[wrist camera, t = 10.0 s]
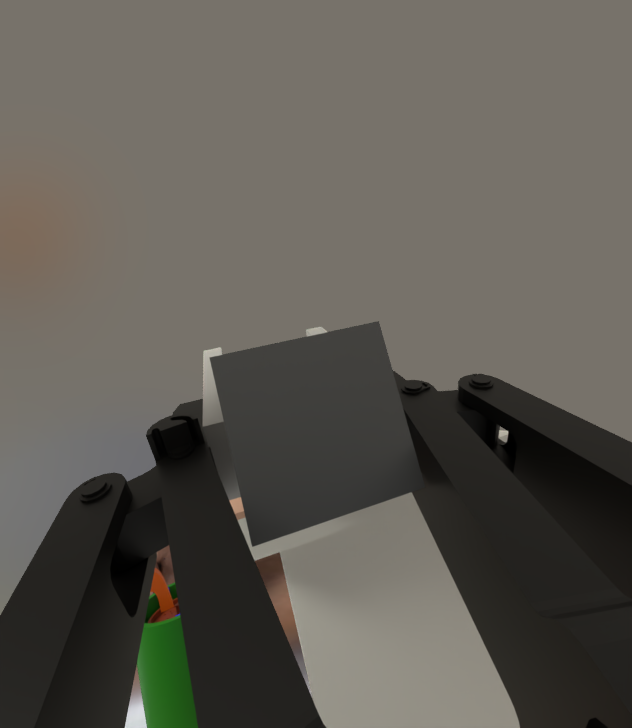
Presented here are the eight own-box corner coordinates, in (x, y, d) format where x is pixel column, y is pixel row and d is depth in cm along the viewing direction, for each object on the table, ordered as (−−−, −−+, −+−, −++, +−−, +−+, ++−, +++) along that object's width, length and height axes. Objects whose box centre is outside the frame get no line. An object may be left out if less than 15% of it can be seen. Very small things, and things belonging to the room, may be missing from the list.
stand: (386, 1328, 13) (216, 519, 16) (320, 894, 25) (229, 475, 27) (700, 1035, 17) (516, 426, 20) (514, 780, 28) (416, 422, 31)
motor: (252, 740, 37) (213, 555, 39) (167, 818, 32) (127, 598, 34) (218, 692, 45) (188, 539, 47) (146, 748, 40) (114, 572, 42)
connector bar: (201, 564, 7) (150, 322, 7) (237, 452, 28) (224, 393, 29) (462, 474, 8) (404, 275, 9) (307, 432, 29) (293, 376, 30)
